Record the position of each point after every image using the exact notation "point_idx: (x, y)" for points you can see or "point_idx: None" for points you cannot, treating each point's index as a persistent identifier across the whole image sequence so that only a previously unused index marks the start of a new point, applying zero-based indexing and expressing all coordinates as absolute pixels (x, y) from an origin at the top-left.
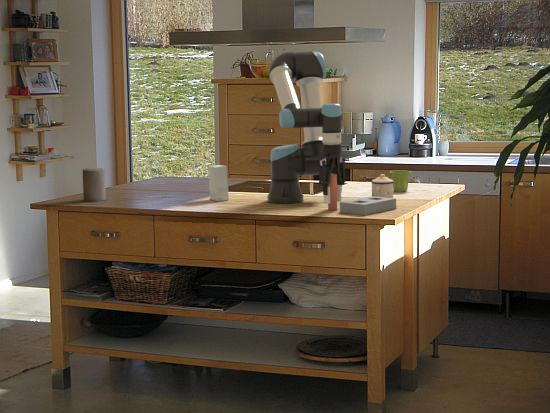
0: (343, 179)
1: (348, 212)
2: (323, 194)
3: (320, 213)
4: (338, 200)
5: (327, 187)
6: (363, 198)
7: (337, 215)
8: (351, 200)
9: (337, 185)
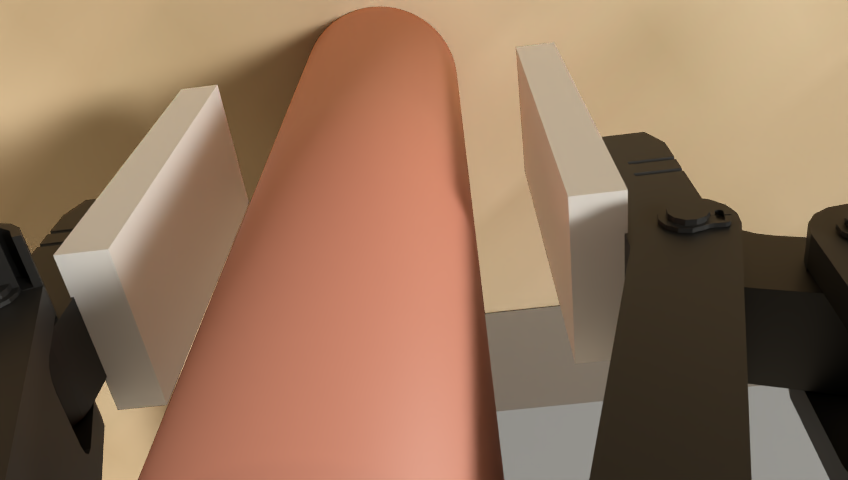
0: (812, 437)
1: None
2: (79, 215)
3: None
4: (525, 140)
5: (106, 368)
6: (795, 425)
7: (113, 457)
8: (501, 443)
9: (571, 282)
